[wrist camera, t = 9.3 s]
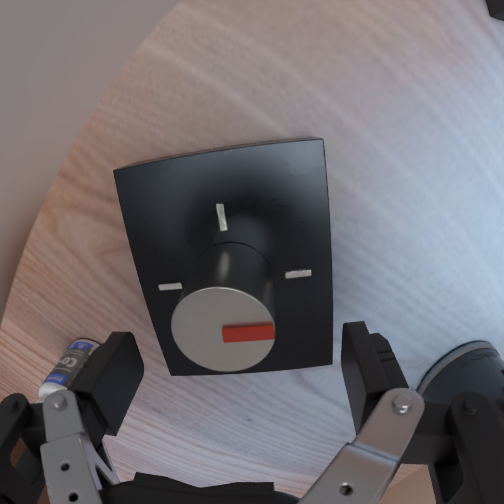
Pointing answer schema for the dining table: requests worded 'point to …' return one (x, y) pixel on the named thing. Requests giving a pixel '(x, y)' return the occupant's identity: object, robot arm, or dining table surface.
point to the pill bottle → (67, 368)
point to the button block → (496, 8)
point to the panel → (237, 238)
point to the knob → (226, 309)
